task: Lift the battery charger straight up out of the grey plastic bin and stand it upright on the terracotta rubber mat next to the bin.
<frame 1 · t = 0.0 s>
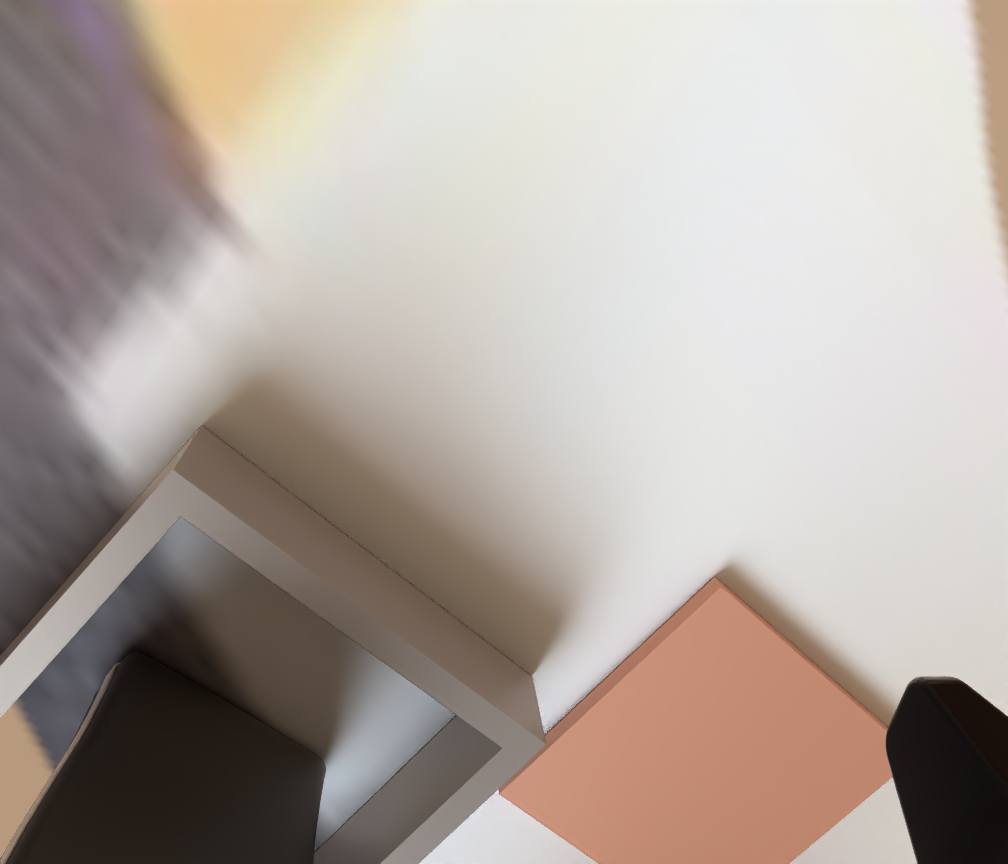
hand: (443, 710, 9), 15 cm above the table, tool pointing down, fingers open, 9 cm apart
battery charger: (200, 740, 27), resting in bin
mat: (705, 761, 28), on the table
bin: (199, 745, 27), on the table
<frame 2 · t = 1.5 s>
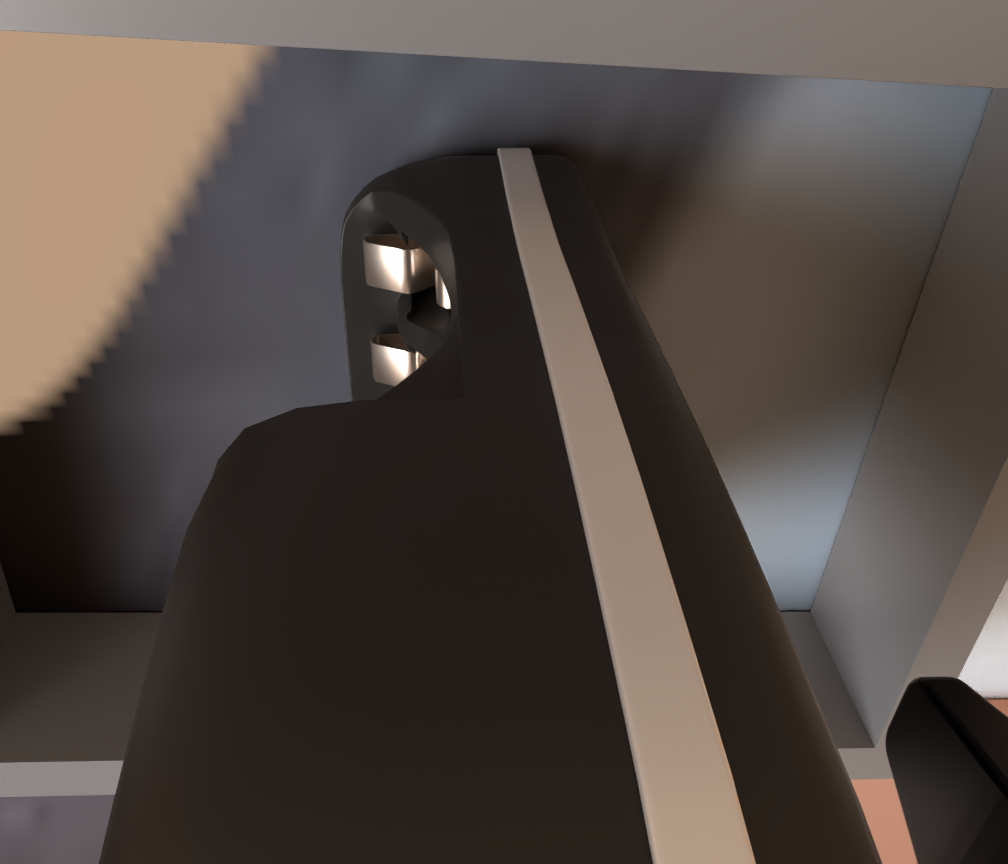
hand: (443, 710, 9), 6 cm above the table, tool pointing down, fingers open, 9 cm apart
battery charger: (438, 359, 14), resting in bin
mat: (816, 832, 21), on the table
bin: (438, 367, 14), on the table
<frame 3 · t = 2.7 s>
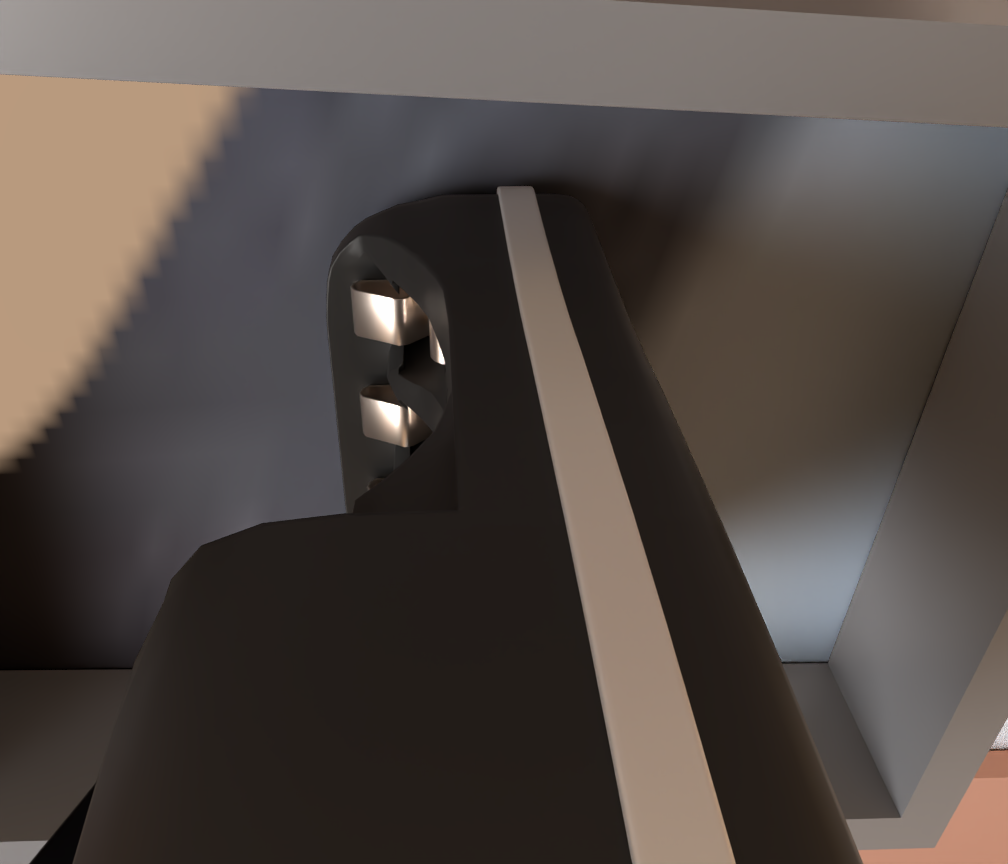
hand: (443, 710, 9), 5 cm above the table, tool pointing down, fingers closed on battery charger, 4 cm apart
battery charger: (434, 407, 13), resting in bin, touching gripper
bin: (433, 415, 13), on the table
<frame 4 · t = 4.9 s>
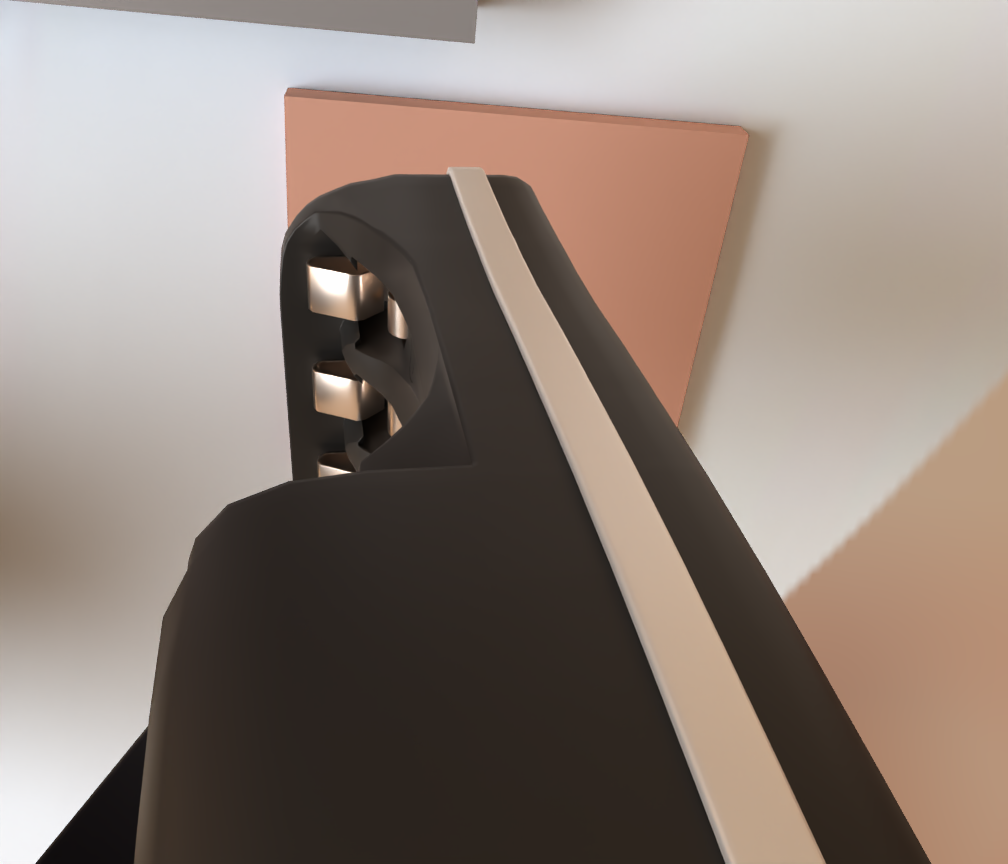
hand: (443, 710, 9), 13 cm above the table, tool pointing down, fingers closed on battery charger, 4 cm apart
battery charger: (377, 383, 13), point 7 cm above the table, touching gripper
mat: (498, 312, 21), on the table
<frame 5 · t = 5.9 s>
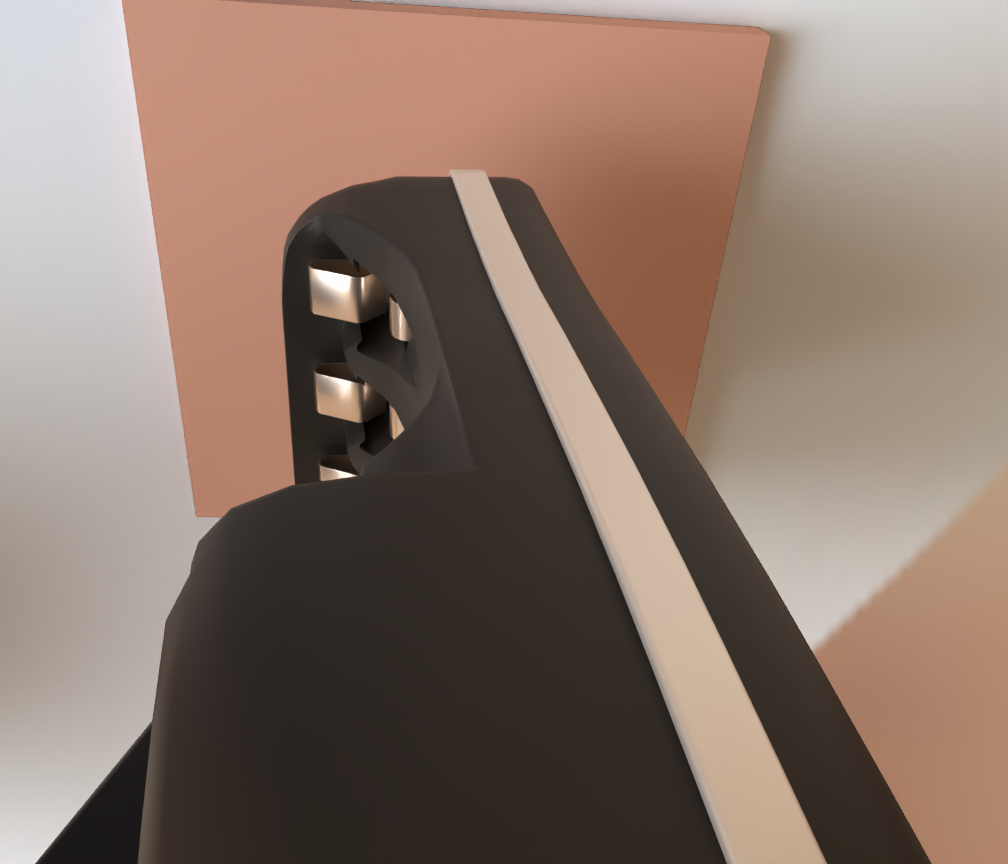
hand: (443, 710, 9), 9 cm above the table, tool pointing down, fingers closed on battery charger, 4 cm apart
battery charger: (379, 384, 13), point 3 cm above the table, touching gripper
mat: (444, 292, 16), on the table
when the fingers open (7 cm above the table, at t = 7.0 s): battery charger stays where it is, resting on mat.
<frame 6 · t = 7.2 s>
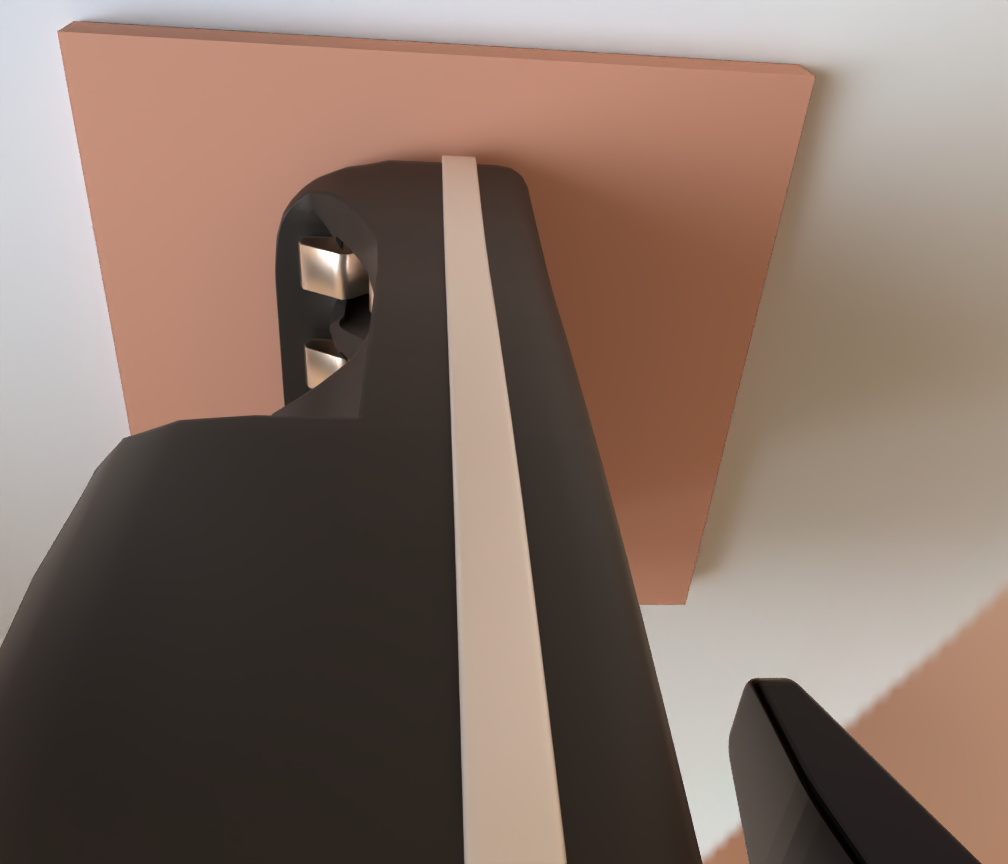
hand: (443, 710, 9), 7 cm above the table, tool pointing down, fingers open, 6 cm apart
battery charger: (378, 366, 14), resting on mat, touching gripper
mat: (438, 359, 14), on the table
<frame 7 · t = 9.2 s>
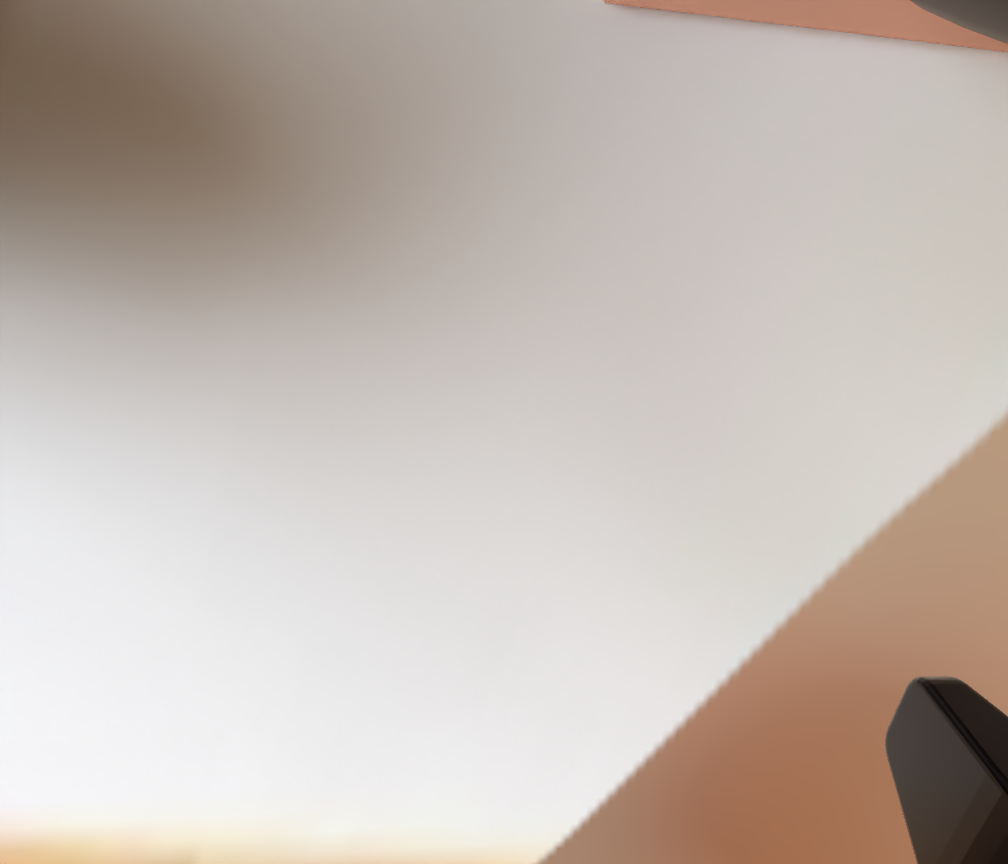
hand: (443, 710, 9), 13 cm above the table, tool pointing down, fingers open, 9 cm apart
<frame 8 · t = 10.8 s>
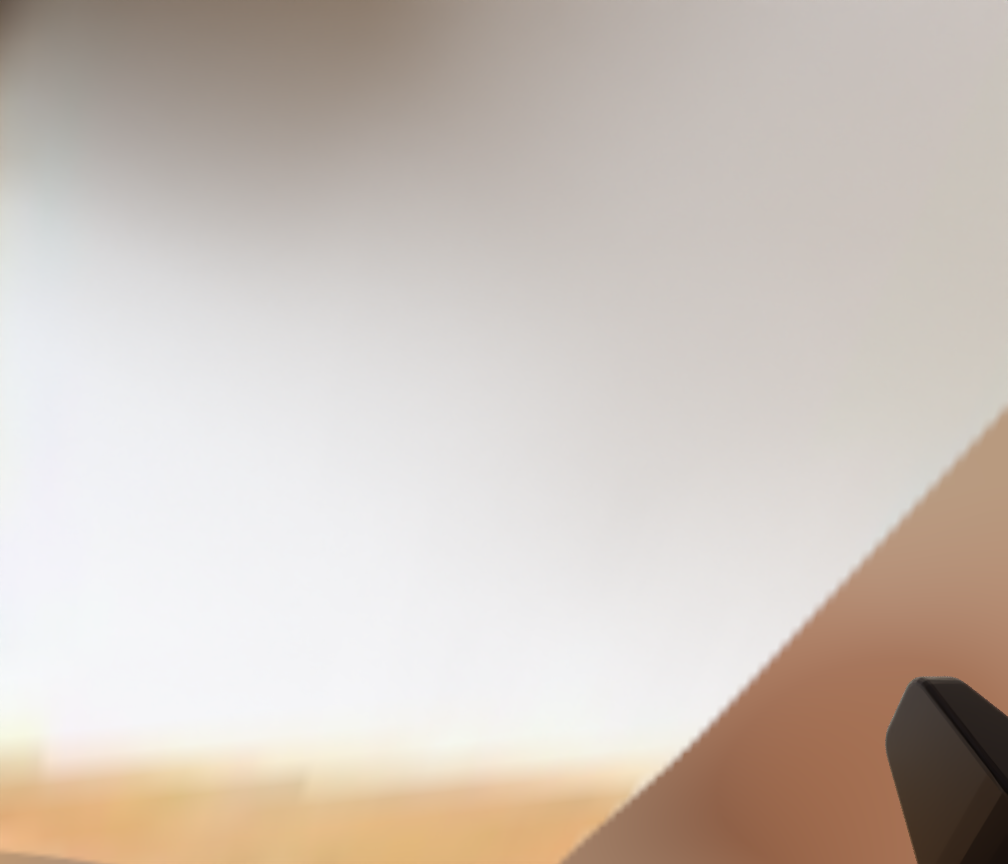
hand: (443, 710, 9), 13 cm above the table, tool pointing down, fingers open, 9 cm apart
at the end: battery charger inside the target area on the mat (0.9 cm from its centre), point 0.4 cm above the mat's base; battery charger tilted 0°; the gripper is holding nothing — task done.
